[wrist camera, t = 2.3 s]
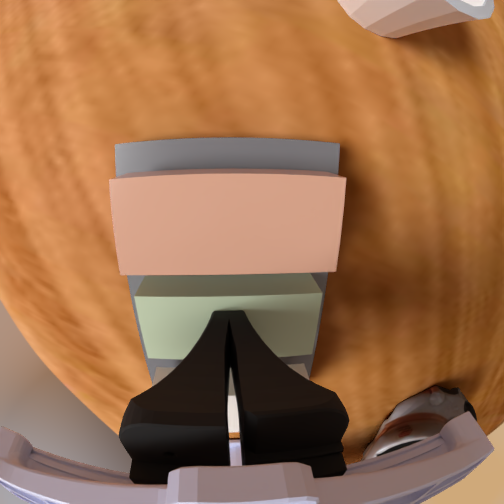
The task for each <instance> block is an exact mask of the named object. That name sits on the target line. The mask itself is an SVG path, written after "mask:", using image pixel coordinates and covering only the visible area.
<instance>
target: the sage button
mask: <svg viewBox="0 0 504 504" xmlns="http://www.w3.org/2000/svg"><path fill="white" fill-rule="evenodd" d="M134 298H135V303H136V308H137V313H138V318H139V323H140V327H141V331H142V336H143V340H144V344H145V348H146V352H147V356H148V358H154V359H184V358H185V357H186V356H187V355H188V353H189V352H190V351H191V350H192V348H193V347H194V345H195V344H196V342H197V341H198V340H199V338H200V336H201V335H202V333H203V331H204V330H205V328H206V326H207V324H208V322H209V320H210V317H211V314H212V312H214V311H231V310H243V311H244V312H245V313H246V316H247V318H248V319H249V321H250V323H251V324H252V326H253V328H254V329H255V331H256V332H257V333H258V335H259V336H260V337H261V339H262V340H263V341H264V343H265V344H266V345H267V346H268V347H269V348H270V349H271V350H272V352H273V353H274V354H275V355H276V356H277V357H287V356H299V355H309V354H312V352H313V347H314V341H315V336H316V330H317V324H318V318H319V312H320V306H321V300H322V291H321V290H320V288H319V286H318V285H317V283H316V282H315V280H314V278H313V277H312V275H311V274H310V273H295V274H257V275H196V276H145V277H144V279H143V281H142V282H141V284H140V286H139V288H138V290H137V292H136V294H135V296H134Z"/></svg>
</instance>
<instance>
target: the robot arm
mask: <svg viewBox="0 0 504 504" xmlns="http://www.w3.org/2000/svg"><path fill="white" fill-rule="evenodd" d="M230 366H231V372H232V378H233V384H234V390H235V396H236V401H237V408H238V418H239V432H240V440H229V429H228V393H229V378H230ZM348 424H349V417H348V414H347V412H346V409H345V407H344V406H343V404H342V402H341V401H340V399H339V397H338V396H337V394H336V393H335V392H333V391H331V390H329V389H326V388H324V387H322V386H320V385H317V384H315V383H314V382H312V381H310V380H308V379H307V378H305V377H303V376H302V375H300V374H299V373H297V372H296V371H294V370H293V369H292V368H290V367H289V366H288V365H286V364H285V363H284V362H283V361H282V360H281V359H280V358H279V357H277V356H276V355H275V354H274V353H273V352H272V350H271V349H270V348H269V347H268V346H267V345H266V344H265V343H264V341H263V340H262V339H261V337H260V336H259V335H258V333H257V332H256V331H255V329H254V328H253V326H252V324H251V323H250V321H249V319H248V318H247V316H246V313H245V312H244V311H243V310H231V311H214V312H212V314H211V317H210V320H209V322H208V324H207V326H206V328H205V330H204V331H203V333H202V335H201V336H200V338H199V340H198V341H197V342H196V344H195V345H194V347H193V348H192V350H191V351H190V352H189V353H188V355H187V356H186V357H185V358H184V359H183V360H182V362H181V363H180V364H179V365H178V366H177V367H176V368H175V369H174V370H173V371H172V372H170V373H169V374H168V375H167V376H166V377H165V378H163V379H162V380H161V381H159V382H158V383H157V384H155V385H154V386H153V387H151V388H150V389H148V390H146V391H145V392H143V393H141V394H139V395H138V396H136V397H134V398H132V399H131V400H130V402H129V404H128V406H127V409H126V411H125V413H124V416H123V419H122V423H121V427H120V431H119V438H120V441H121V442H122V444H123V446H124V447H125V449H126V451H127V452H128V453H129V455H130V457H131V458H132V464H131V470H130V473H124V472H119V471H113V470H109V469H104V468H99V467H95V466H91V465H87V464H84V463H80V462H76V461H73V460H70V459H66V458H63V457H60V456H57V455H54V454H51V453H48V452H45V451H42V450H40V449H37V448H35V447H32V445H31V444H30V442H29V441H28V440H27V439H26V438H25V437H24V436H22V435H21V434H19V433H17V432H14V431H12V430H10V429H7V428H5V427H1V429H0V484H1V485H2V486H4V487H5V488H6V489H7V490H9V491H10V492H11V493H13V494H14V495H15V496H17V497H18V498H20V499H22V500H24V501H26V502H28V503H30V504H420V503H422V502H424V501H426V500H428V499H429V498H431V497H433V496H435V495H437V494H439V493H440V492H442V491H444V490H445V489H447V488H449V487H451V486H452V485H454V484H456V483H457V482H459V481H460V480H462V479H463V478H465V477H466V476H467V475H468V474H469V473H471V472H472V471H473V470H474V469H475V468H476V467H477V466H478V465H479V464H480V463H482V462H483V461H484V460H485V459H486V458H487V457H488V456H489V455H490V454H491V453H492V452H493V451H494V447H493V446H492V444H491V442H490V441H489V440H488V438H487V436H486V435H485V433H484V432H483V430H482V429H481V427H480V426H479V425H478V423H477V422H476V420H475V419H474V417H473V416H472V415H471V413H470V412H469V411H467V412H465V413H463V414H461V415H459V416H457V417H455V418H453V419H452V420H450V421H449V422H448V423H446V424H445V425H444V427H443V428H442V429H441V431H440V433H438V434H436V435H434V436H431V437H429V438H427V439H424V440H422V441H419V442H417V443H414V444H412V445H409V446H407V447H404V448H401V449H398V450H396V451H393V452H390V453H387V454H384V455H381V456H377V457H374V458H371V459H367V460H364V461H360V462H357V463H353V464H349V465H346V464H345V461H344V458H343V455H342V452H343V446H342V443H341V439H342V437H343V435H344V433H345V431H346V429H347V427H348Z"/></svg>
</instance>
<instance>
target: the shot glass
mask: <svg viewBox="0 0 504 504" xmlns="http://www.w3.org/2000/svg"><path fill="white" fill-rule="evenodd" d="M338 2H339V4H340V5H341V6H342V7H343V9H344V10H345V11H346V13H347V14H348V15H349V17H351V18H352V19H353V20H355V21H356V22H357V23H358V24H359V25H361V26H362V27H363V28H364V29H367V30H369V31H371V32H373V33H375V34H377V35H379V36H383V37H390V38H399V37H402V36H405V35H409V34H412V33H416V32H420V31H424V30H428V29H432V28H436V27H440V26H445V25H450V24H455V23H460V22H466V21H472V20H479V19H485V18H490V17H491V15H492V12H493V10H494V2H493V0H338Z"/></svg>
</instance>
